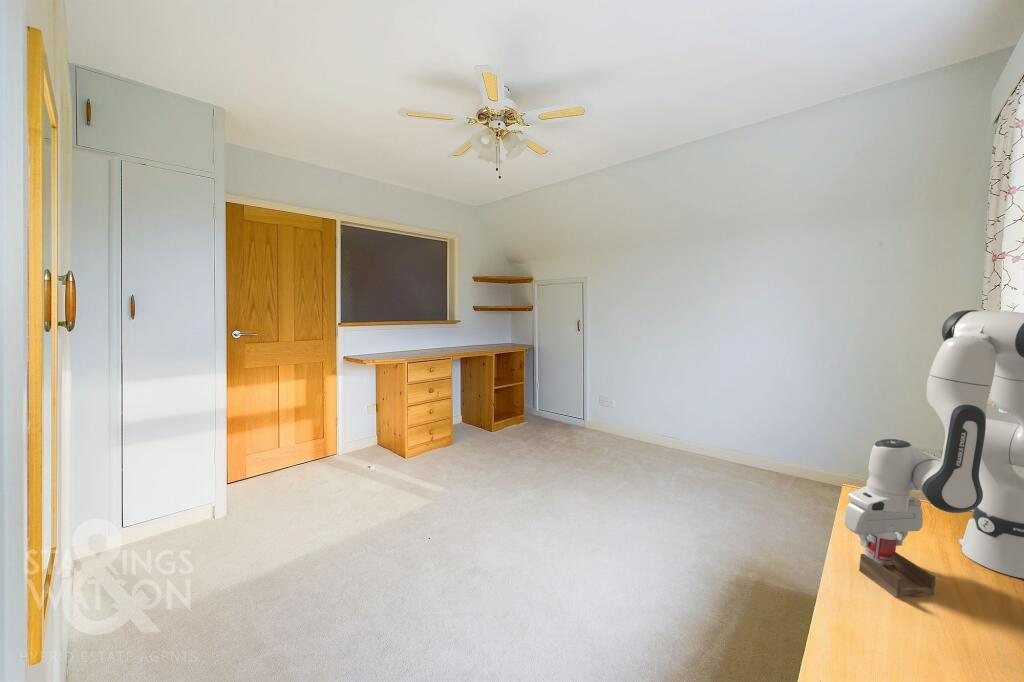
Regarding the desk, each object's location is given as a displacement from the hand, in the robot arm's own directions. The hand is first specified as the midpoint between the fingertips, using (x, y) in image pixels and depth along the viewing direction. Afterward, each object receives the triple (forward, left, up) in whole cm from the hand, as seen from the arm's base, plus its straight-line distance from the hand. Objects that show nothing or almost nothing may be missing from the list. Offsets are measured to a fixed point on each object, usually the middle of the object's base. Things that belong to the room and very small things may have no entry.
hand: (881, 545), depth 117 cm
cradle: (+5, +9, -4) cm, 11 cm away
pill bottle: (0, 0, -4) cm, 4 cm away
